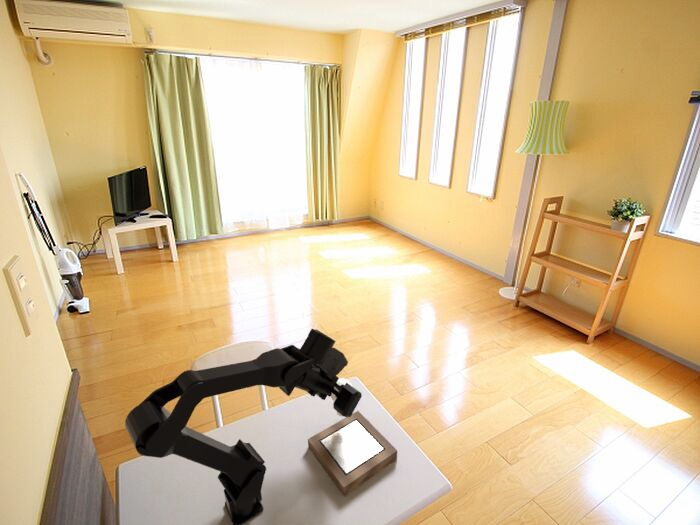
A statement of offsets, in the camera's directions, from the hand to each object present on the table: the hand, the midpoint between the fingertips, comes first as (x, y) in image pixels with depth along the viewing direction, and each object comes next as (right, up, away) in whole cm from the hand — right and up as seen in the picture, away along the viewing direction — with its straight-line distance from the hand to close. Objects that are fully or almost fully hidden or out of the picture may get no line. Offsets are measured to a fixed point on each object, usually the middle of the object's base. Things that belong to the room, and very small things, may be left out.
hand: (345, 392), depth 94 cm
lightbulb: (-1, -7, +2) cm, 7 cm away
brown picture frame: (+2, -15, -2) cm, 15 cm away
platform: (+2, -14, -2) cm, 14 cm away
